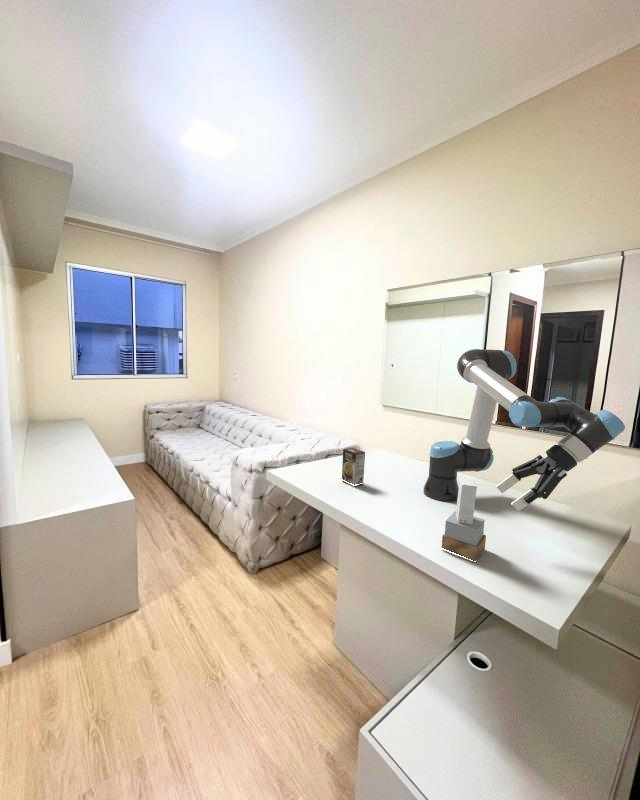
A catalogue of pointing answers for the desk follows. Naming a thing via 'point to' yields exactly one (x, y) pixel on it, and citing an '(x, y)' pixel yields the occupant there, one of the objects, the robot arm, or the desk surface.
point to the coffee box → (353, 465)
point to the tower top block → (464, 530)
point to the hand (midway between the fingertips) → (506, 498)
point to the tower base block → (464, 547)
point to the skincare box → (466, 501)
